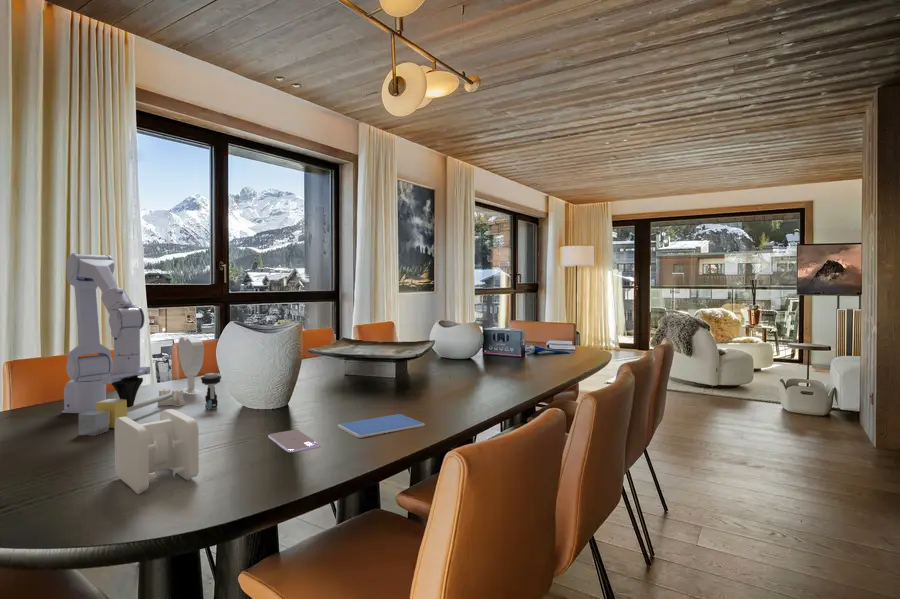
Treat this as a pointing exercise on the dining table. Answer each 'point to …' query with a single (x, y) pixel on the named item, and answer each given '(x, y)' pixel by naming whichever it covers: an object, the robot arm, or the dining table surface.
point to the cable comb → (176, 397)
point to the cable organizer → (156, 448)
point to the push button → (211, 389)
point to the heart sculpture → (191, 359)
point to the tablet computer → (379, 425)
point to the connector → (94, 422)
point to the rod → (149, 402)
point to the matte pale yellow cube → (113, 409)
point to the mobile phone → (293, 441)
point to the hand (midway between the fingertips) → (127, 406)
